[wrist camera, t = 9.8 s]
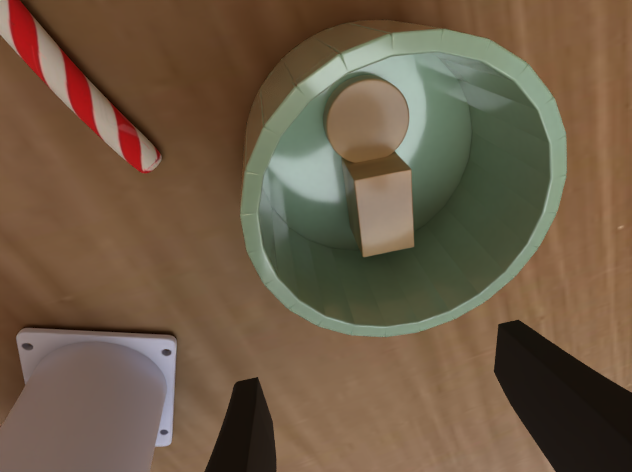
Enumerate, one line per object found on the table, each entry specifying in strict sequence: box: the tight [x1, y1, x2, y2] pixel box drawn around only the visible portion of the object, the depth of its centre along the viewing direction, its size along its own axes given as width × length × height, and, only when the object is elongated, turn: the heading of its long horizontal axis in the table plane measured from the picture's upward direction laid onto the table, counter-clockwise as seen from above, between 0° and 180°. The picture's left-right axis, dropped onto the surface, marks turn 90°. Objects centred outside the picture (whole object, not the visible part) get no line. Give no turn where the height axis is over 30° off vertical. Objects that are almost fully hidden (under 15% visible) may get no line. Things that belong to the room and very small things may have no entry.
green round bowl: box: [240, 19, 567, 337], centre depth 17 cm, size 11×11×6 cm
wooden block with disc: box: [323, 75, 414, 257], centre depth 18 cm, size 7×4×3 cm, turn 9°
